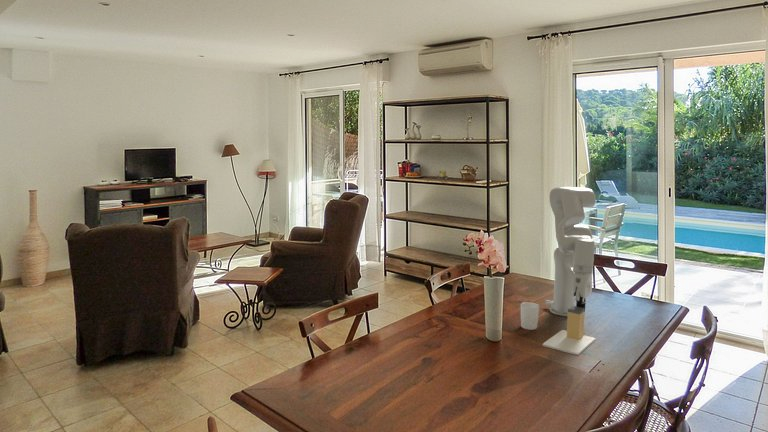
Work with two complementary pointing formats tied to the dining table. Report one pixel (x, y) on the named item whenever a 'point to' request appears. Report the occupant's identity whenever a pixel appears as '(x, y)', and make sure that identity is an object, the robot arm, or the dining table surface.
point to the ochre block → (575, 322)
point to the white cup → (529, 315)
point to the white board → (568, 343)
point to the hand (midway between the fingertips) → (580, 311)
